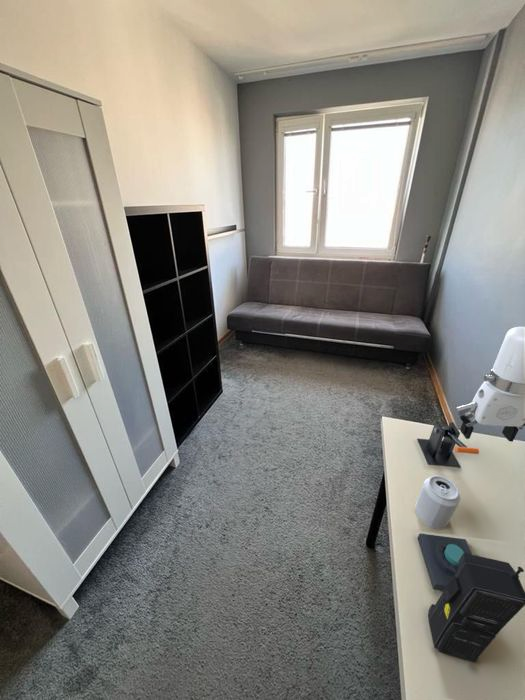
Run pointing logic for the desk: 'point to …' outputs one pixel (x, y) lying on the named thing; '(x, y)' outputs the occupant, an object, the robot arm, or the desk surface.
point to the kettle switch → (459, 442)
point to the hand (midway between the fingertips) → (485, 436)
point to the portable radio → (475, 606)
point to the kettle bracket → (440, 447)
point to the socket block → (439, 558)
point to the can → (437, 502)
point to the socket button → (453, 554)
